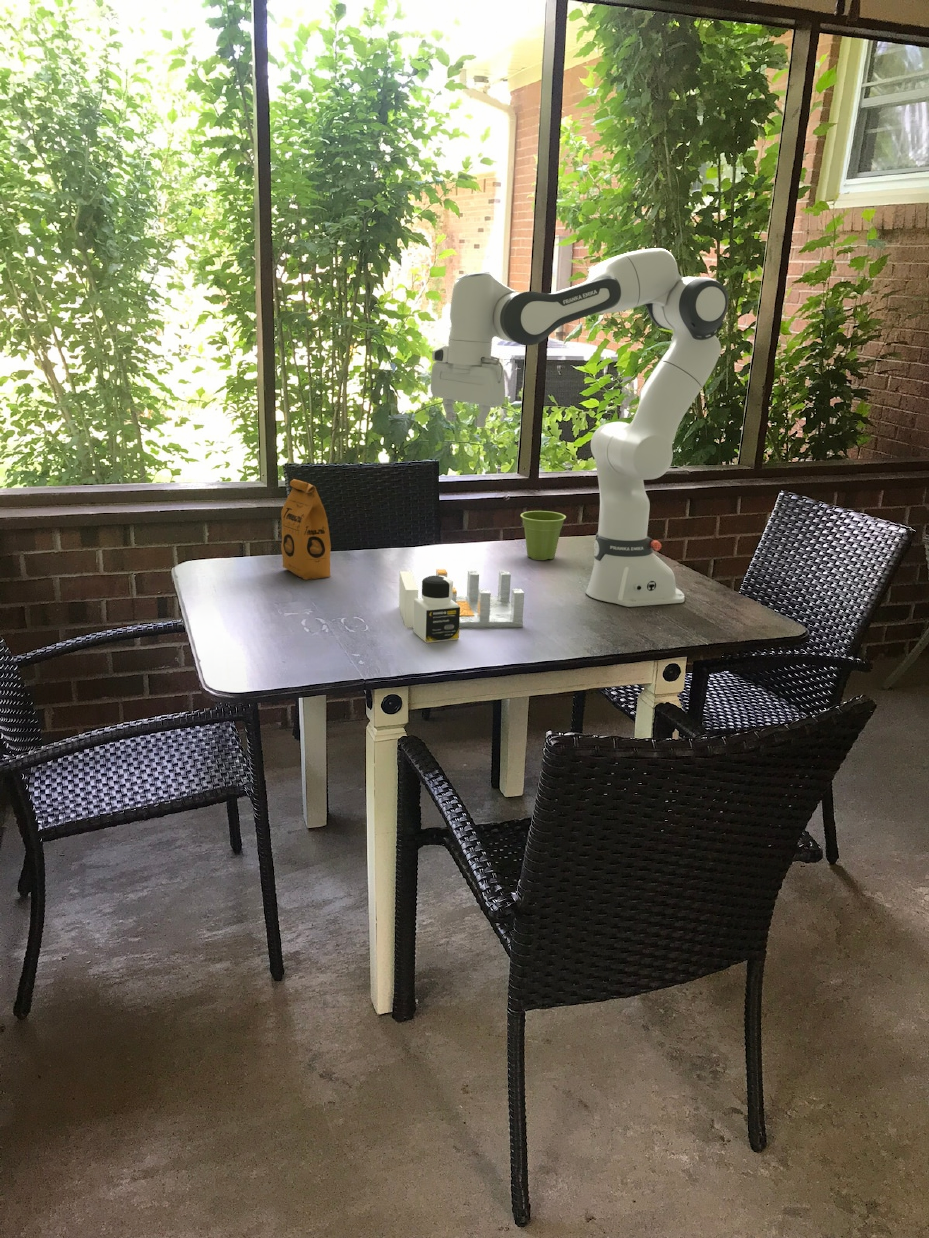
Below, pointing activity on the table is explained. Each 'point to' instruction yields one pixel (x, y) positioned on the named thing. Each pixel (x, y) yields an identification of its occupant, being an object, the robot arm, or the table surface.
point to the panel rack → (489, 603)
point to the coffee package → (305, 533)
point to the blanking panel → (407, 597)
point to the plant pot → (542, 533)
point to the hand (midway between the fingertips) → (464, 424)
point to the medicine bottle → (436, 611)
